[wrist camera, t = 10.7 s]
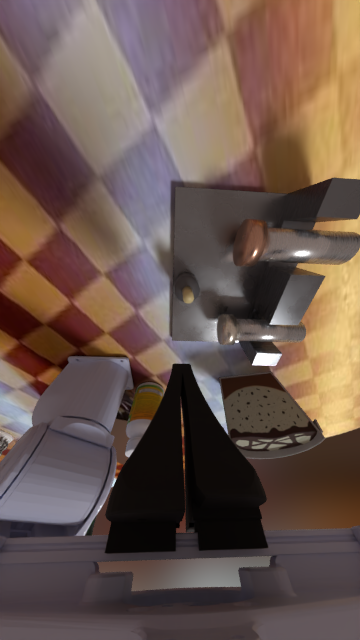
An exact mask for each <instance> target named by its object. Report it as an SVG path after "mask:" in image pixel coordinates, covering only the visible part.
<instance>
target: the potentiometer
mask: <svg viewBox="0 0 360 640" xmlns="http://www.w3.org/2000/svg"><path fill="white" fill-rule="evenodd" d="M199 293H200V287H199V284H198V282H197V279H196V277H195V276H194V275H193V274H191V273H182V274H180V275H179V276H178V277H177V278H176V281H175V295H176V297H177V298H178V299H179V300H180V301H182V302H185V303H192V302H193V301H194V300H195V299H196V298H197V297H198V296H199Z"/></svg>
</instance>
